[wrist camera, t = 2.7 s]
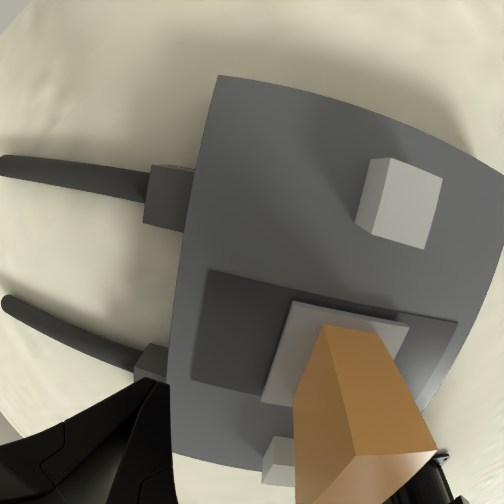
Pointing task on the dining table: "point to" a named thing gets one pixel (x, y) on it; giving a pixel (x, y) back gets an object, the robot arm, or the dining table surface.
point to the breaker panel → (310, 256)
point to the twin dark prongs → (89, 180)
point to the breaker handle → (347, 406)
